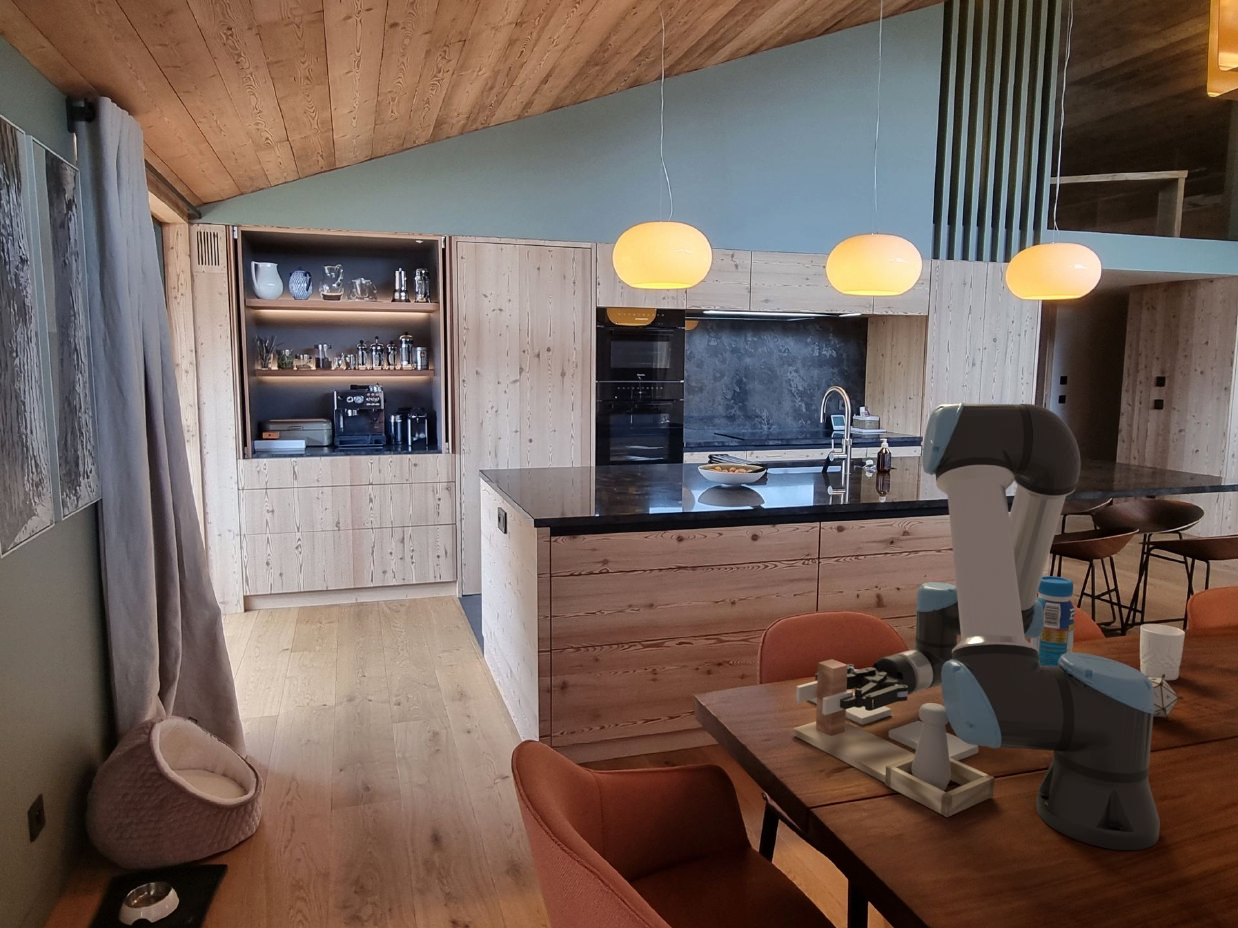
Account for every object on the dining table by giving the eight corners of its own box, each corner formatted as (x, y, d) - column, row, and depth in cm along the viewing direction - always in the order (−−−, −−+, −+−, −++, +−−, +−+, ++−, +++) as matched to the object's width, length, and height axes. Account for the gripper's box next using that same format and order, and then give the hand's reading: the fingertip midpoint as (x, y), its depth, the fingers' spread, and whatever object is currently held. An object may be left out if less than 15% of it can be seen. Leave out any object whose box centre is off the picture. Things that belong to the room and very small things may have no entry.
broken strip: (978, 752, 138) (978, 745, 138) (948, 764, 134) (948, 757, 134) (834, 690, 165) (834, 684, 165) (805, 698, 161) (806, 693, 161)
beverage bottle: (1019, 665, 180) (1024, 576, 178) (1049, 661, 183) (1055, 573, 181) (1049, 678, 172) (1055, 585, 170) (1081, 674, 175) (1087, 582, 173)
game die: (1159, 740, 152) (1180, 712, 145) (1110, 713, 156) (1129, 685, 149) (1174, 706, 156) (1196, 678, 149) (1127, 681, 161) (1145, 652, 154)
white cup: (1128, 671, 177) (1132, 626, 176) (1151, 666, 180) (1155, 621, 179) (1166, 683, 170) (1169, 637, 169) (1189, 678, 173) (1193, 632, 172)
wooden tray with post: (993, 796, 123) (997, 712, 122) (946, 816, 118) (951, 728, 116) (835, 721, 150) (837, 651, 148) (790, 735, 144) (793, 662, 143)
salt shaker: (909, 792, 125) (913, 710, 124) (910, 775, 130) (914, 696, 129) (951, 799, 123) (955, 716, 122) (950, 781, 128) (954, 701, 127)
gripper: (943, 711, 145) (851, 741, 132) (861, 678, 160) (772, 703, 148) (945, 670, 144) (853, 697, 132) (862, 641, 160) (773, 662, 147)
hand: (810, 700), depth 140 cm, fingers open, 5 cm apart
